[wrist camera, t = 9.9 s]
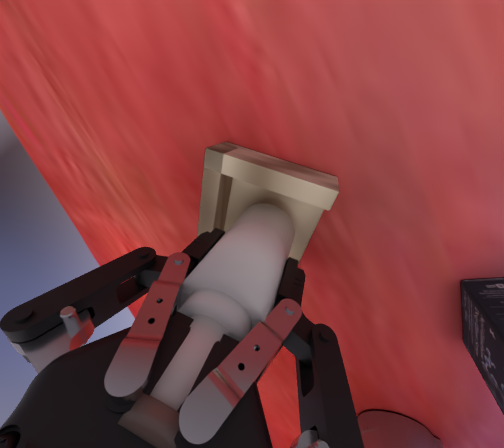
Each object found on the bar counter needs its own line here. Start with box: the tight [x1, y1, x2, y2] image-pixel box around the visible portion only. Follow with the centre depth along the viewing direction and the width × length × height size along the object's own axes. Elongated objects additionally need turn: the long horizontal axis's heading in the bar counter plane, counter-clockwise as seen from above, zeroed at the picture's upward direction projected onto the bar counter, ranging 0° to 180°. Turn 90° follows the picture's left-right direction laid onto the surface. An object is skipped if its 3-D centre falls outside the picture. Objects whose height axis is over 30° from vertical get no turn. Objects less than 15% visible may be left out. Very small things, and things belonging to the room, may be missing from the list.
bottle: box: [118, 203, 295, 448], centre depth 12 cm, size 5×5×14 cm
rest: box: [197, 142, 339, 264], centre depth 19 cm, size 10×11×4 cm
